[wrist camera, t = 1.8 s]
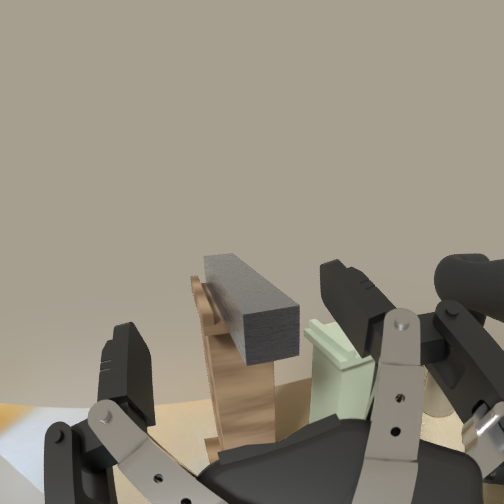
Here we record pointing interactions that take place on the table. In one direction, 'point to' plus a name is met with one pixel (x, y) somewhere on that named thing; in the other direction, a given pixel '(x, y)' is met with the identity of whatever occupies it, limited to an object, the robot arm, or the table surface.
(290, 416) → the table surface
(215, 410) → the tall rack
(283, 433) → the table surface
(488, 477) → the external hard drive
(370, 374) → the pale green pedestal
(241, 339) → the grey block
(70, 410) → the table surface
